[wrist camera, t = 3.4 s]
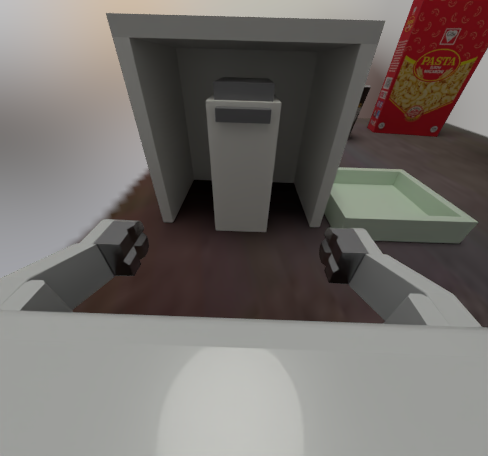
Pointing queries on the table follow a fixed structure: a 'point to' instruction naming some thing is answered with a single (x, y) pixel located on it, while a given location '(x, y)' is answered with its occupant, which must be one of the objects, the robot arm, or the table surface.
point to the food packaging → (431, 66)
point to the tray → (394, 207)
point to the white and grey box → (242, 151)
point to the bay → (244, 66)
